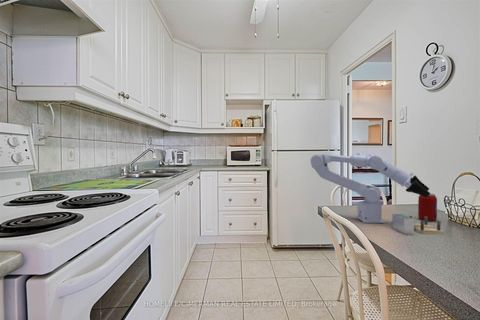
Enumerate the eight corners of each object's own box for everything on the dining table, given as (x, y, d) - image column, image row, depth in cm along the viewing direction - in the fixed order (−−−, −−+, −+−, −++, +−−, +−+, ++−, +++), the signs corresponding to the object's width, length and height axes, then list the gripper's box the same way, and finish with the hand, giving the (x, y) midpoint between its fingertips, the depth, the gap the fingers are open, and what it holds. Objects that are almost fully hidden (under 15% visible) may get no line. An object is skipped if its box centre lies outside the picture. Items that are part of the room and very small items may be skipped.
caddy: (444, 234, 89) (444, 222, 89) (422, 233, 90) (422, 222, 90) (425, 225, 99) (425, 215, 99) (405, 225, 100) (406, 215, 100)
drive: (413, 234, 89) (413, 218, 89) (404, 234, 89) (404, 218, 89) (401, 228, 97) (401, 213, 97) (392, 227, 97) (392, 213, 97)
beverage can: (440, 221, 105) (441, 195, 105) (425, 221, 105) (425, 195, 105) (428, 217, 112) (429, 192, 111) (414, 217, 112) (414, 192, 112)
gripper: (400, 169, 95) (436, 189, 89) (402, 164, 106) (433, 181, 100) (389, 183, 98) (423, 203, 92) (391, 176, 109) (422, 193, 104)
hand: (428, 192), depth 96 cm, fingers open, 7 cm apart
